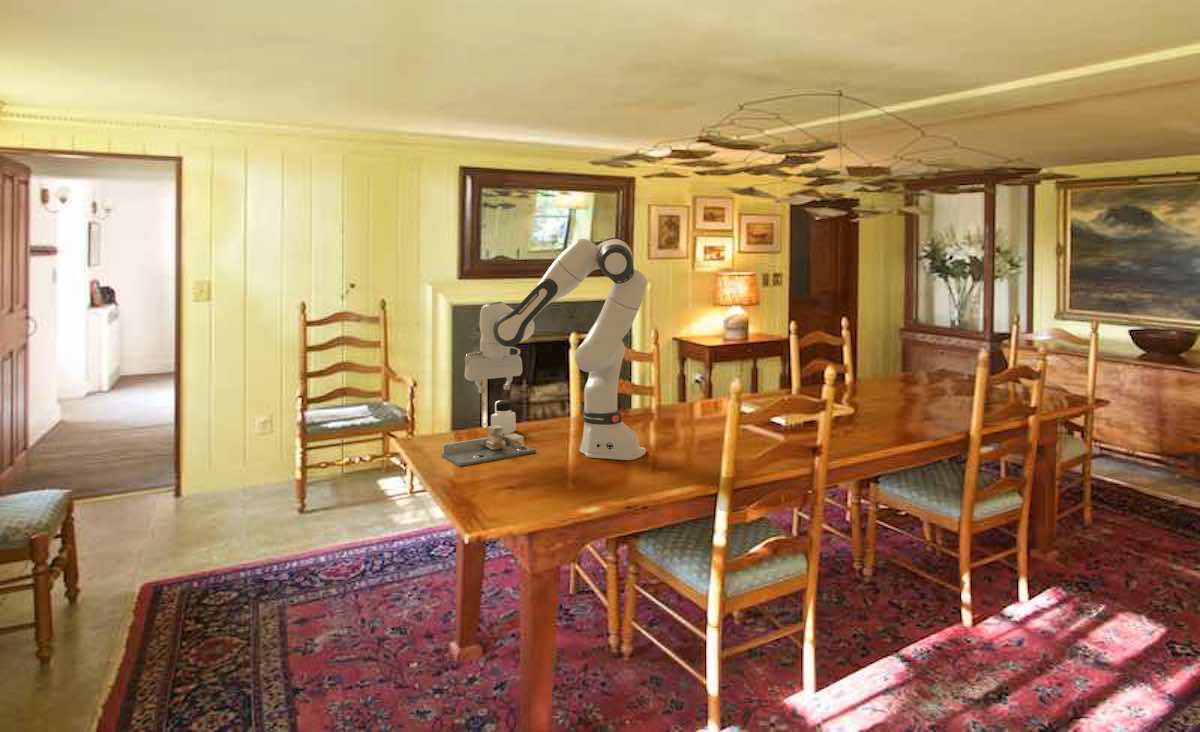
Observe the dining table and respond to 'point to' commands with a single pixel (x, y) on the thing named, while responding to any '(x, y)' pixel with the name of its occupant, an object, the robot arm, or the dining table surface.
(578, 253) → the robot arm
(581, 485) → the dining table surface
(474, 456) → the divider plate
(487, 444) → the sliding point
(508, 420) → the medicine bottle
